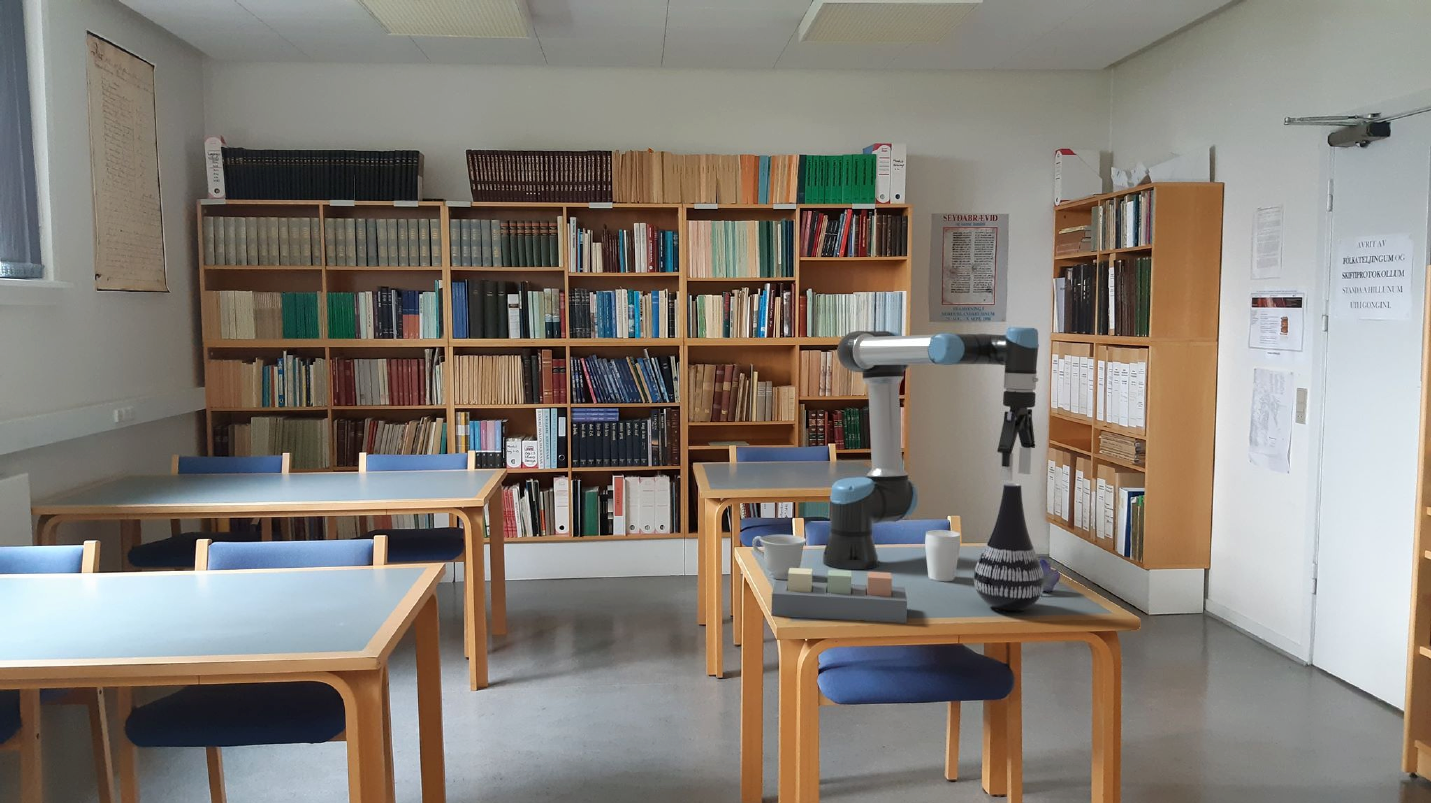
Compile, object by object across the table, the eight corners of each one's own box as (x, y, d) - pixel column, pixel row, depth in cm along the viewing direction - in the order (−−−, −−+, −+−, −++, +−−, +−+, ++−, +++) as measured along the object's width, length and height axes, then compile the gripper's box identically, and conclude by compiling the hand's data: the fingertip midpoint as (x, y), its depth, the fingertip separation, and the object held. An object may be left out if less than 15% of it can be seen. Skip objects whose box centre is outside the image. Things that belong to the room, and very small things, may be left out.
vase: (1033, 622, 220) (1038, 492, 217) (963, 610, 228) (968, 485, 226) (1050, 606, 233) (1055, 483, 231) (984, 595, 241) (988, 477, 239)
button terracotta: (867, 605, 222) (867, 577, 221) (866, 599, 227) (867, 571, 227) (890, 607, 221) (891, 578, 221) (889, 600, 226) (890, 573, 226)
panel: (771, 615, 222) (771, 593, 221) (775, 600, 233) (776, 580, 233) (906, 623, 218) (907, 601, 217) (903, 608, 229) (904, 587, 229)
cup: (962, 576, 260) (963, 532, 259) (955, 584, 252) (956, 538, 251) (928, 572, 264) (929, 528, 263) (920, 580, 256) (921, 534, 255)
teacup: (762, 567, 266) (763, 531, 265) (813, 575, 259) (814, 537, 258) (741, 576, 256) (742, 539, 255) (793, 585, 248) (794, 546, 248)
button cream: (787, 601, 224) (788, 573, 224) (788, 595, 230) (789, 567, 229) (810, 602, 224) (811, 574, 223) (811, 596, 229) (812, 568, 228)
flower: (1061, 573, 238) (1049, 547, 247) (1027, 585, 240) (1016, 559, 249) (1071, 599, 243) (1059, 573, 251) (1037, 611, 244) (1026, 584, 253)
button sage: (827, 603, 223) (827, 575, 223) (827, 597, 228) (828, 569, 228) (850, 604, 222) (851, 576, 222) (850, 598, 228) (851, 570, 227)
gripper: (1018, 393, 227) (1013, 484, 229) (1050, 389, 248) (1046, 472, 249) (986, 391, 232) (982, 480, 233) (1020, 387, 252) (1016, 469, 254)
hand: (1015, 476), depth 241 cm, fingers open, 13 cm apart
